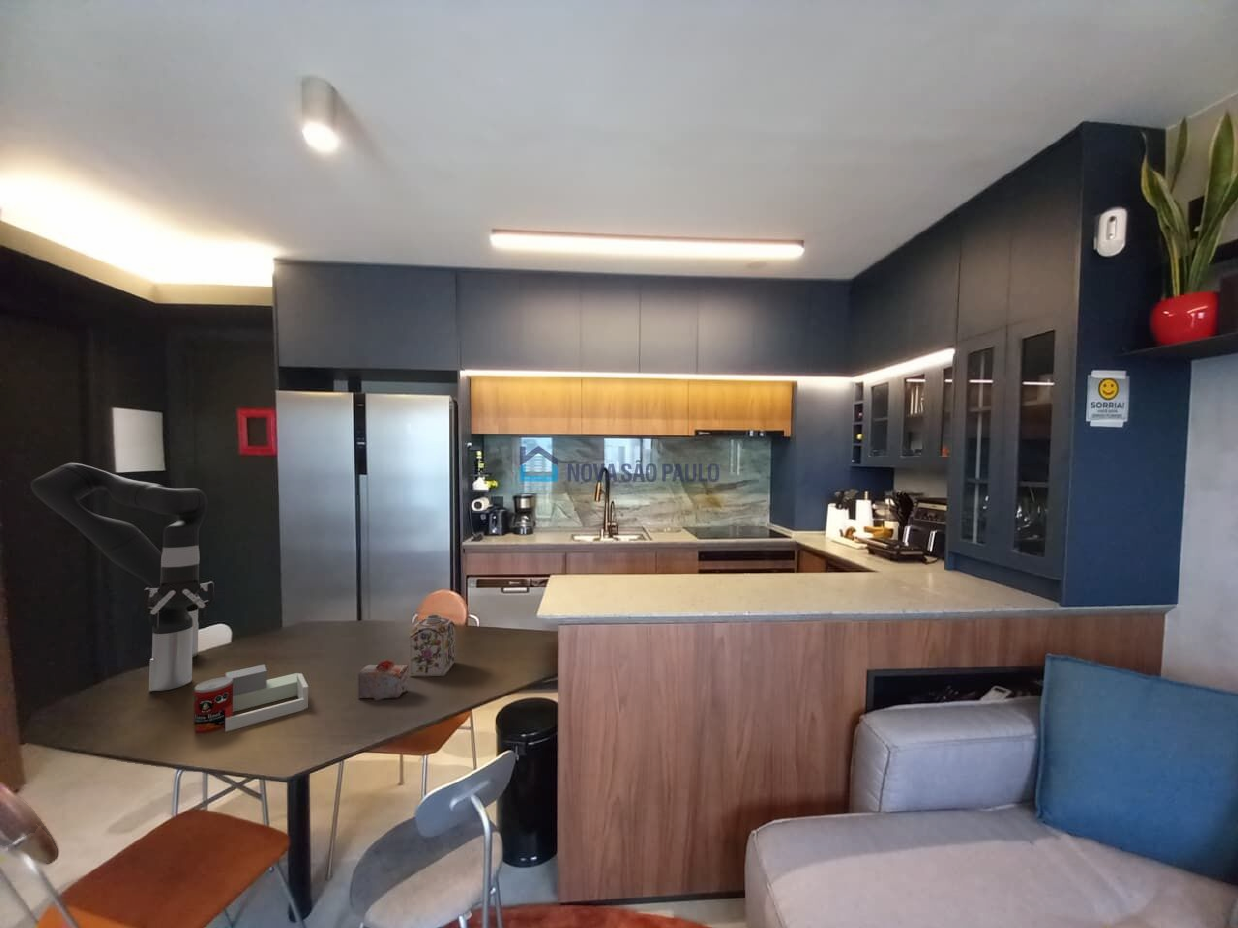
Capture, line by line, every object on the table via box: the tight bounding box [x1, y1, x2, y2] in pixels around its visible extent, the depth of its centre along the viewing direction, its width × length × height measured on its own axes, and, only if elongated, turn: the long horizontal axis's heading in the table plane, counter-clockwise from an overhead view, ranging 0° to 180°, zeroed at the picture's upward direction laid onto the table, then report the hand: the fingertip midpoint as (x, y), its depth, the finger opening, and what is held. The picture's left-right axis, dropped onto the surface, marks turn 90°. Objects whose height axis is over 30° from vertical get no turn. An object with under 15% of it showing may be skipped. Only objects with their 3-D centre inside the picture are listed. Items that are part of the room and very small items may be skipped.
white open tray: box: [224, 664, 309, 732], centre depth 135 cm, size 20×19×9 cm
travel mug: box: [186, 603, 200, 658], centre depth 172 cm, size 6×7×20 cm
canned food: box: [193, 676, 234, 734], centre depth 125 cm, size 8×8×11 cm
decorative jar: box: [409, 613, 457, 677], centre depth 161 cm, size 12×12×18 cm
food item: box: [357, 660, 410, 701], centre depth 142 cm, size 14×8×10 cm, turn 92°
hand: (178, 624), depth 126 cm, fingers open, 8 cm apart
